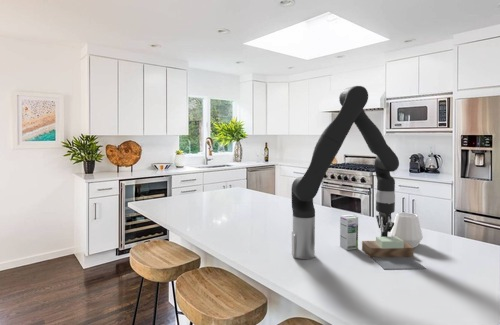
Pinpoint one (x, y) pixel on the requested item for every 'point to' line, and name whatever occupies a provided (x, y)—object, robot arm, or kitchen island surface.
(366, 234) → the kitchen island surface
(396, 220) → the cup
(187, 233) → the kitchen island surface
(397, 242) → the mint green block
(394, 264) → the mat
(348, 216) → the syrup box
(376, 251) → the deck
